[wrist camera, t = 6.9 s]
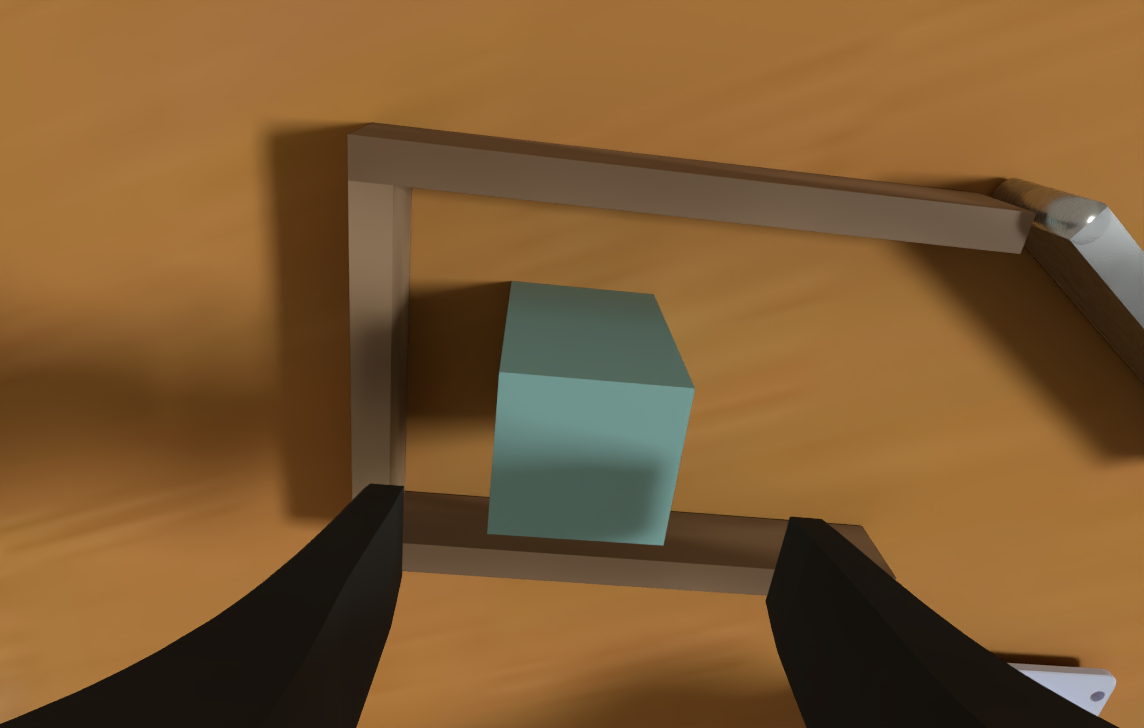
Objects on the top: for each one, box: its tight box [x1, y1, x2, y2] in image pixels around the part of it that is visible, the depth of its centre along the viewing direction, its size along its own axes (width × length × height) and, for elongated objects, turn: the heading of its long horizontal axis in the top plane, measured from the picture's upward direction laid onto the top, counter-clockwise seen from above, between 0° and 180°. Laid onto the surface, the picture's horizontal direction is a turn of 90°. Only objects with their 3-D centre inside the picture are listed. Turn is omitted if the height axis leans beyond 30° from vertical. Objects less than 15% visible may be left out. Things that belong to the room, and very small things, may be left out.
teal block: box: [487, 281, 695, 545], centre depth 18 cm, size 4×4×6 cm
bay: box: [347, 123, 1036, 596], centre depth 20 cm, size 12×16×2 cm
